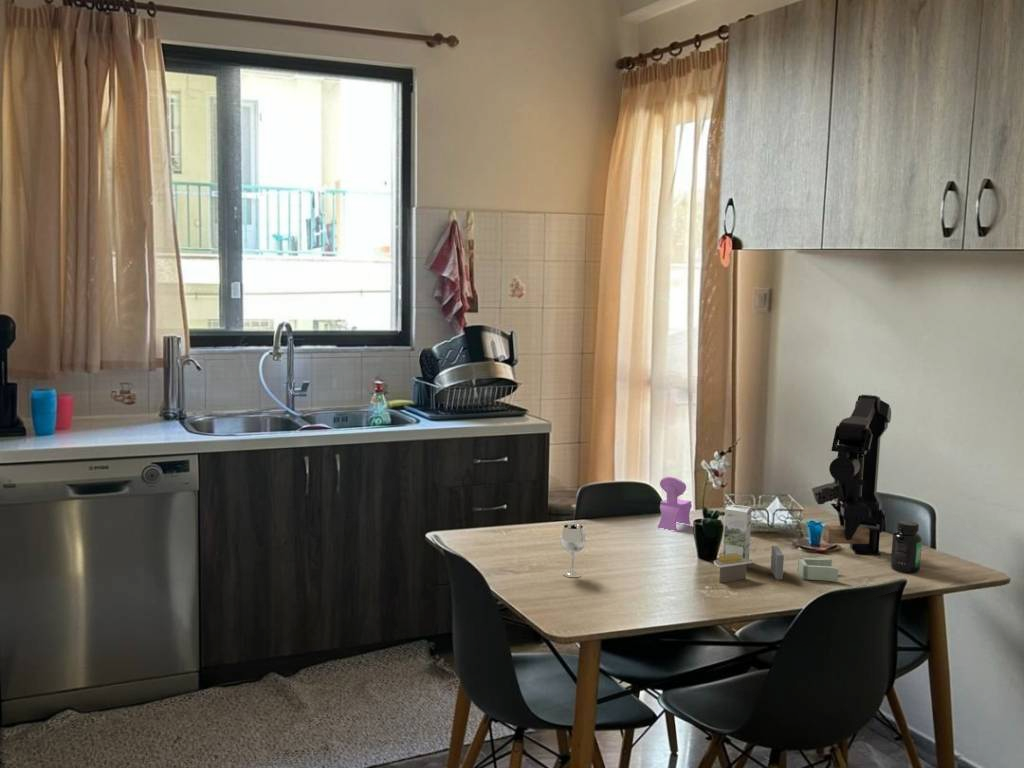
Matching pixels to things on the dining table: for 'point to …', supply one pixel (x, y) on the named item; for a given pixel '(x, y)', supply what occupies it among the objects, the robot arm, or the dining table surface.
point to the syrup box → (737, 530)
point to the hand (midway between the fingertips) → (846, 537)
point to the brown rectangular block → (838, 536)
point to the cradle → (817, 569)
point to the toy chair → (673, 504)
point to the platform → (732, 567)
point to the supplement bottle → (906, 548)
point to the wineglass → (573, 541)
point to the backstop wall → (777, 562)
